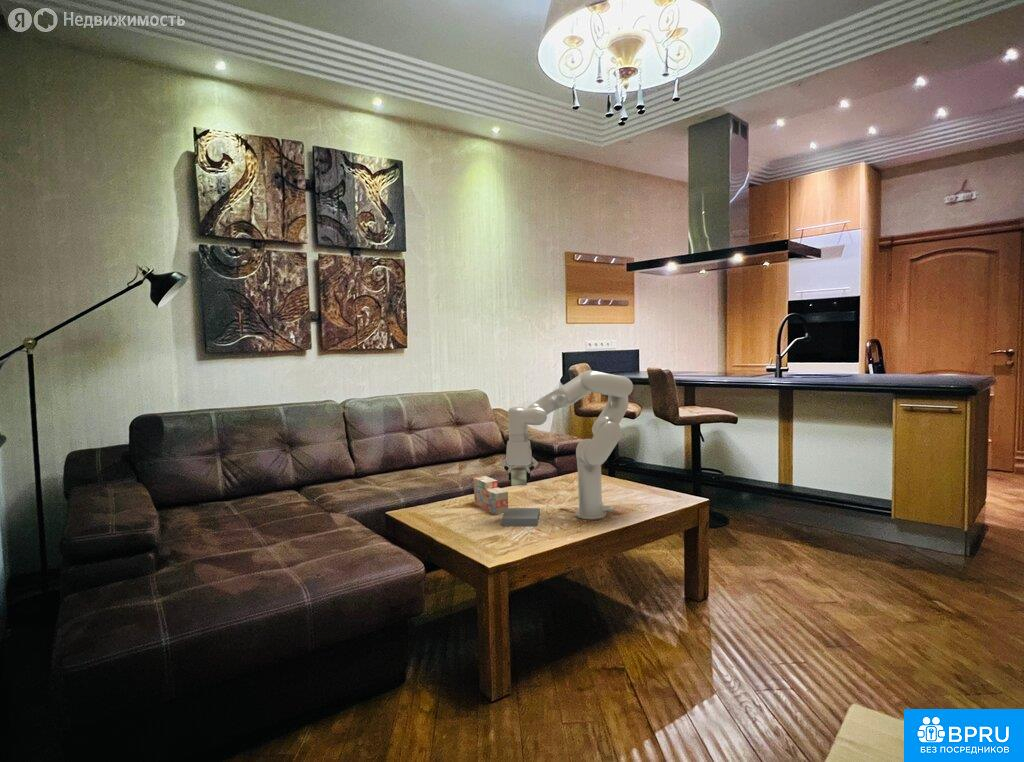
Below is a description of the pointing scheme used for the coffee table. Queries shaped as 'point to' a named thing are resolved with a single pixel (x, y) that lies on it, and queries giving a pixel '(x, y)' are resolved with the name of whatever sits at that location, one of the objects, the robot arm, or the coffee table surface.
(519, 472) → the sage cube
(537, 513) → the plinth
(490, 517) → the coffee table surface
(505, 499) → the stack of blocks
